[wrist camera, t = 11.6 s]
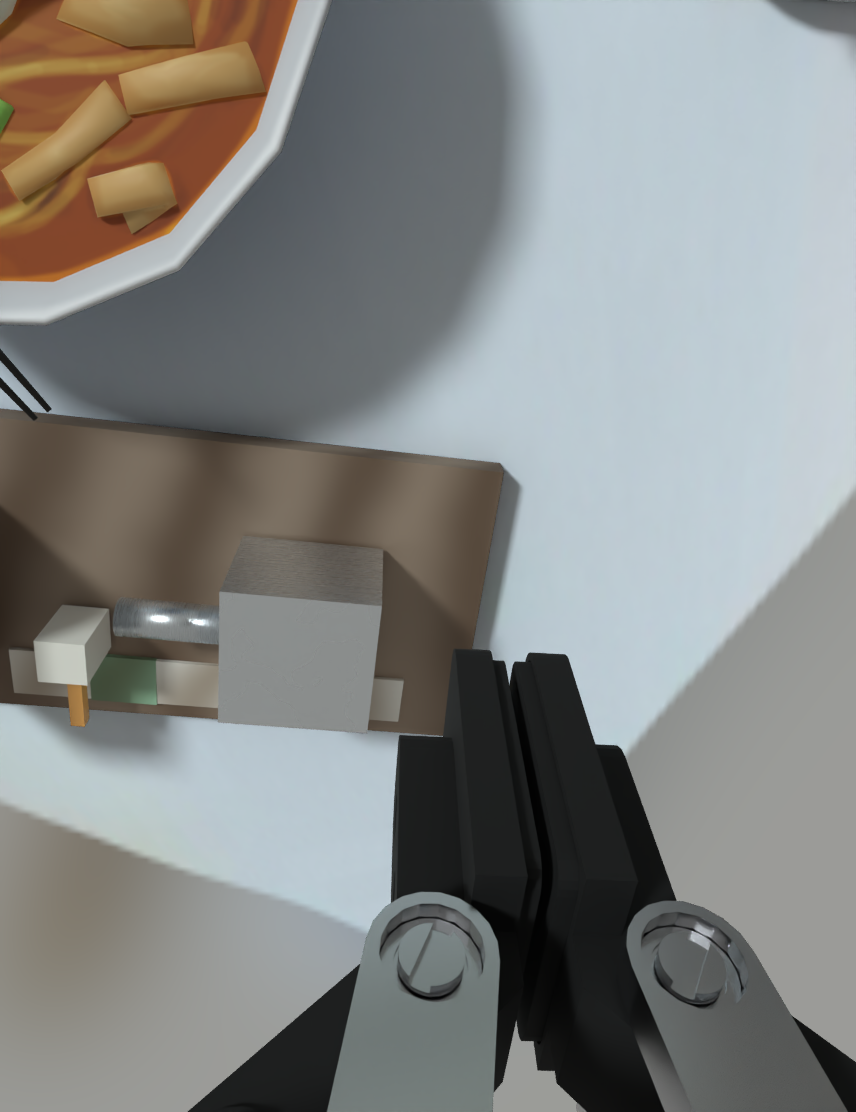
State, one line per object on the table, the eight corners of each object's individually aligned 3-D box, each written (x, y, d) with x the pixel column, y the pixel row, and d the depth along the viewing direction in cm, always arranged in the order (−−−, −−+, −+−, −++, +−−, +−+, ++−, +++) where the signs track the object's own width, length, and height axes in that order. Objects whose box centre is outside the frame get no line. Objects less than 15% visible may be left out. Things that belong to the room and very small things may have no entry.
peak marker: (109, 608, 34) (84, 645, 31) (114, 702, 36) (92, 743, 33) (62, 604, 33) (33, 641, 31) (70, 698, 36) (44, 740, 33)
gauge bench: (499, 463, 33) (531, 542, 26) (454, 721, 39) (468, 845, 32) (-135, 393, 30) (-303, 458, 23) (-80, 680, 36) (-199, 805, 29)
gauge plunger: (383, 549, 33) (381, 606, 28) (370, 664, 35) (366, 733, 31) (135, 525, 32) (93, 580, 27) (139, 645, 34) (102, 713, 30)
